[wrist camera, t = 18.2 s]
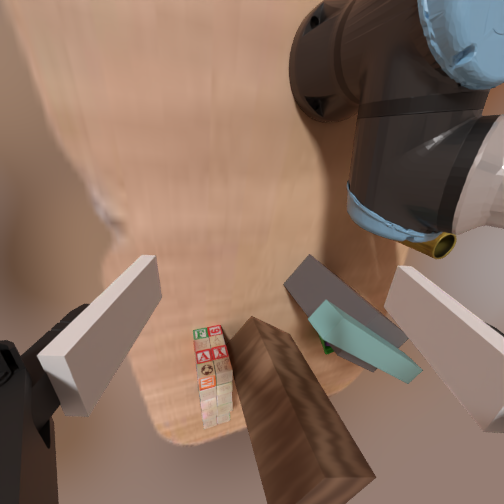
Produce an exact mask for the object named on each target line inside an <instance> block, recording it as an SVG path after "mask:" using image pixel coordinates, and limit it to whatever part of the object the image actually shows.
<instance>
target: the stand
mask: <svg viewBox="0 0 504 504" xmlns="http://www.w3.org/2000/svg"><path fill="white" fill-rule="evenodd" d="M226 347H227V351H228V355H229V359H230V363H231V366H232V370H233V376H234V380H235V383H236V387H237V391H238V395H239V398H240V402H241V406H242V410H243V414H244V417H245V421H246V425H247V429H248V432H249V436H250V440H251V443H252V447H253V451H254V455H255V459H256V462H257V466H258V470H259V473H260V477H261V481H262V485H263V489H264V492H265V496H266V500H267V504H346V503H347V502H348V501H349V500H350V499H351V498H353V497H354V496H355V495H356V494H357V493H358V492H360V491H361V490H362V489H363V488H364V487H366V486H367V485H368V484H369V483H370V482H371V481H373V480H374V479H375V478H376V476H375V474H374V473H373V471H372V469H371V468H370V466H369V465H368V463H367V461H366V459H365V458H364V456H363V454H362V453H361V451H360V450H359V448H358V446H357V445H356V443H355V441H354V440H353V438H352V436H351V435H350V433H349V431H348V430H347V428H346V426H345V425H344V423H343V421H342V420H341V418H340V416H339V415H338V413H337V411H336V410H335V408H334V406H333V405H332V403H331V402H330V400H329V398H328V396H327V395H326V393H325V392H324V390H323V388H322V387H321V385H320V383H319V382H318V380H317V378H316V377H315V375H314V373H313V372H312V370H311V368H310V367H309V365H308V363H307V362H306V360H305V358H304V357H303V355H302V353H301V352H300V350H299V348H298V347H297V345H296V344H295V342H294V340H293V339H292V337H291V335H290V334H288V333H286V332H284V331H282V330H280V329H278V328H276V327H274V326H271V325H269V324H267V323H265V322H263V321H261V320H259V319H257V318H255V317H253V316H251V317H250V318H249V319H248V321H247V322H246V323H245V324H244V325H243V326H242V328H241V329H240V330H239V331H238V332H237V333H236V334H235V336H234V337H233V338H232V339H231V340H230V341H229V343H228V344H227V345H226Z"/></svg>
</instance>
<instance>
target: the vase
mask: <svg viewBox="0 0 504 504" xmlns="http://www.w3.org/2000/svg"><path fill="white" fill-rule="evenodd" d="M394 241H396V242H399V243H401V244H403V245H405V246H408V247H410V248H413V249H415V250H417V251H419V252H421V253H424V254H426V255H428V256H430V257H432V258H435V259H441V258H444V257H445V256H447V255H448V254H449V253H450V252H451V250H452V249H453V248H454V246H455V244H456V235H455V234H450V233H446V232H443V233H442V234H440V235H439V236H438V237H437V238H435V239H434V240H431V241H427V242H418V243H416V242H410V241H408V240H404V241H397V240H394Z"/></svg>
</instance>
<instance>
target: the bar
mask: <svg viewBox="0 0 504 504" xmlns="http://www.w3.org/2000/svg"><path fill="white" fill-rule="evenodd" d="M308 320H309V322H310V323H311V324H312V326H313V327H314V328H315V330H316V331H317V332H318V334H319V335H320V336H321V338H322V339H323V340H325V341H327V342H329V343H331V344H333V345H335V346H337V347H338V348H340V349H342V350H344V351H346V352H348V353H350V354H352V355H354V356H356V357H357V358H359V359H361V360H363V361H365V362H367V363H369V364H371V365H373V366H375V367H377V368H379V369H381V370H382V371H384V372H386V373H388V374H390V375H392V376H394V377H396V378H398V379H399V380H401V381H403V382H405V383H407V384H409V383H410V382H411V381H412V380H413V379H414V378H415V377H416V376H417V375H418V374H420V373H421V372H422V371H423V370H422V369H421V368H420V367H419V366H418V365H417V364H416V363H415V362H414V361H413V360H412V359H411V358H409V357H408V356H407V355H406V354H405V353H404V352H402V351H400V350H399V349H398V348H396V347H395V346H393V345H392V344H390V343H389V342H388V341H386V340H385V339H383V338H382V337H380V336H379V335H377V334H376V333H374V332H373V331H371V330H370V329H369V328H367V327H366V326H364V325H363V324H361V323H360V322H358V321H357V320H355V319H354V318H353V317H351V316H350V315H348V314H347V313H345V312H344V311H342V310H341V309H339V308H338V307H336V306H335V305H334V304H332V303H331V302H329V301H328V300H325V301H324V302H323V303H322V304H321V305H320V306H319V307H318V308H317V310H316V311H315V312H314V313H313V314H312V315H311V316H310V317H309V318H308Z"/></svg>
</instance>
